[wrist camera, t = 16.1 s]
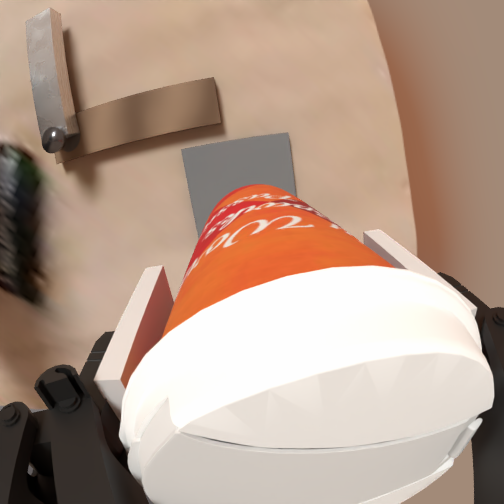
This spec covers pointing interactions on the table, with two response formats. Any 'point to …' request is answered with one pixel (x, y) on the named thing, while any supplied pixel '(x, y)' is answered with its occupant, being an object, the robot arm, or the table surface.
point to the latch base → (143, 117)
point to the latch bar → (50, 80)
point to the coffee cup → (301, 369)
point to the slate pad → (235, 170)
